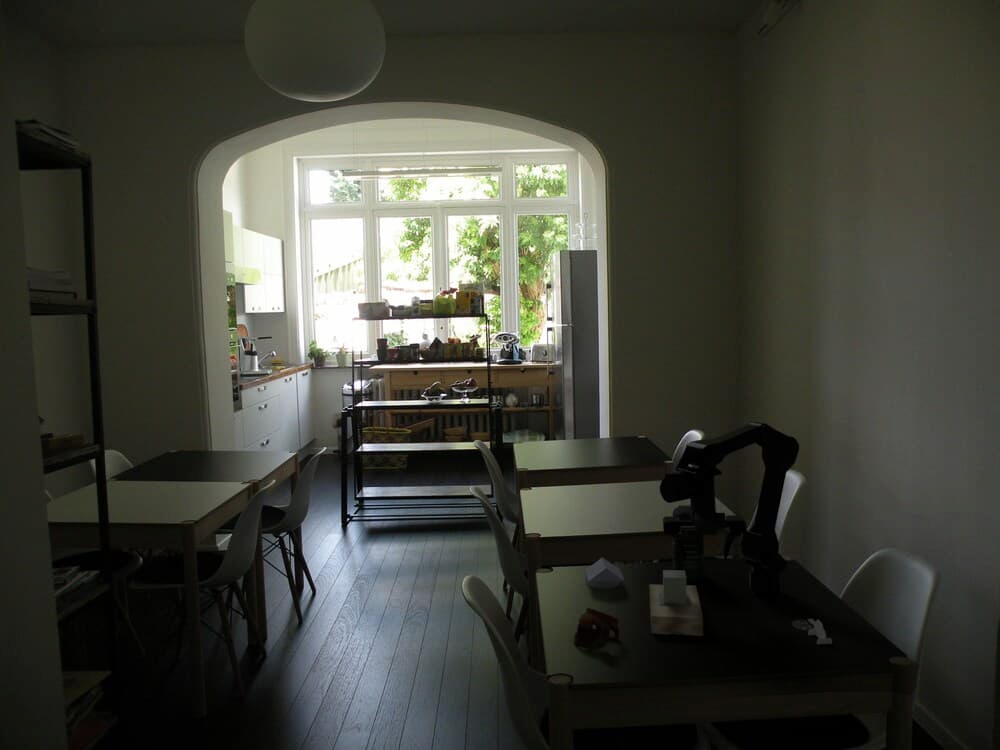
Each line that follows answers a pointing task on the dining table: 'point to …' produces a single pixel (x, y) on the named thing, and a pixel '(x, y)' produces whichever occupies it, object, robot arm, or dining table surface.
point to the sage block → (674, 586)
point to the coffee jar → (689, 548)
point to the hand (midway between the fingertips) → (705, 560)
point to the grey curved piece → (813, 629)
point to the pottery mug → (598, 635)
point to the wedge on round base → (603, 575)
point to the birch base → (675, 613)
